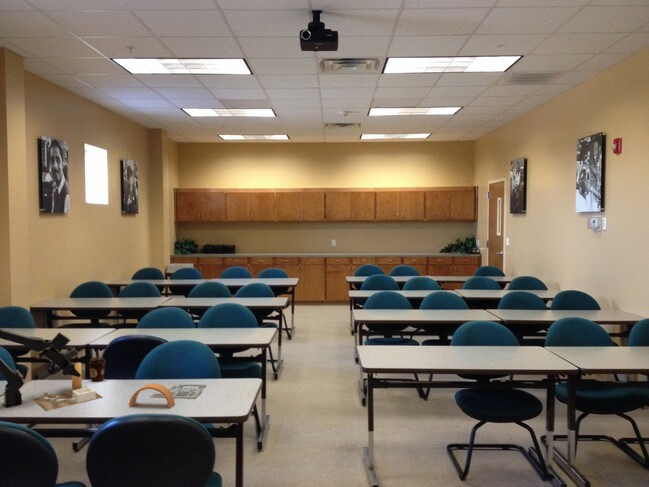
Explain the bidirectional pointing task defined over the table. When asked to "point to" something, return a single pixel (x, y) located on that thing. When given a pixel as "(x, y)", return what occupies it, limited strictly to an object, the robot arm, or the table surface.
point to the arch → (157, 387)
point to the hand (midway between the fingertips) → (79, 374)
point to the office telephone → (181, 391)
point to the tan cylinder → (77, 378)
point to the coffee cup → (97, 369)
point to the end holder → (84, 394)
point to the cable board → (57, 400)
